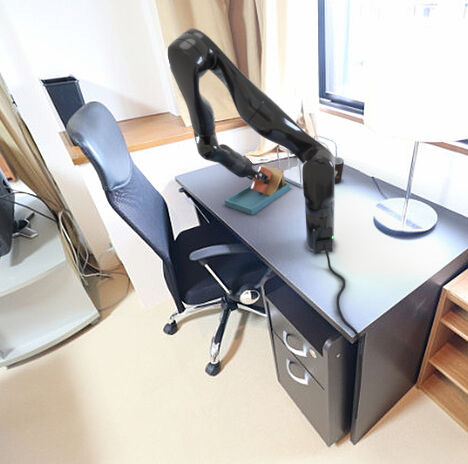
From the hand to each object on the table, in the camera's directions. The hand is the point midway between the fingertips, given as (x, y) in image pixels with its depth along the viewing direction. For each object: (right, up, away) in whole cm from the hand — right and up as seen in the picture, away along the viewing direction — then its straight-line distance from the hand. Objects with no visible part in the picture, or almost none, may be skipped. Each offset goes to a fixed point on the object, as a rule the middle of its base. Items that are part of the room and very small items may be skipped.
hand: (260, 180), depth 135 cm
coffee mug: (+31, +7, +11) cm, 34 cm away
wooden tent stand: (+3, -3, +7) cm, 8 cm away
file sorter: (+20, +6, +21) cm, 29 cm away
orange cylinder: (0, -5, +4) cm, 6 cm away
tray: (-1, -7, +2) cm, 7 cm away
